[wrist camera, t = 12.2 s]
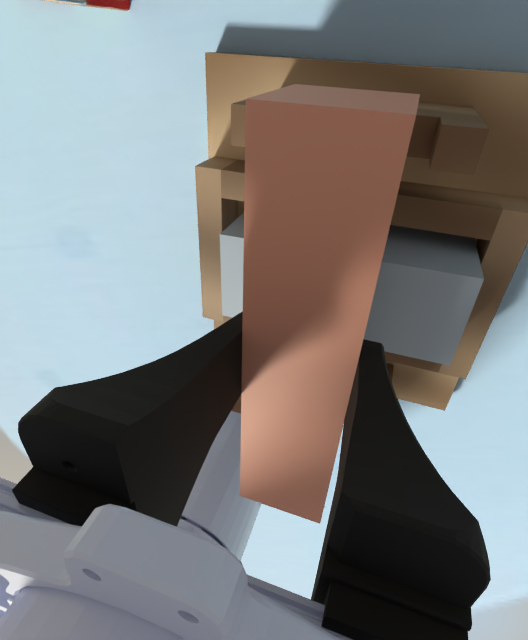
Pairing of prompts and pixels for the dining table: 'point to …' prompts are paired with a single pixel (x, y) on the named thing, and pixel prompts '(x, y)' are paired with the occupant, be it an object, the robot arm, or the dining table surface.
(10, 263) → the dining table surface
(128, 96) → the dining table surface
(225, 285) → the pale grey pillar block
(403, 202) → the jig
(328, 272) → the terracotta rectangular bar
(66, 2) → the stack of blocks
